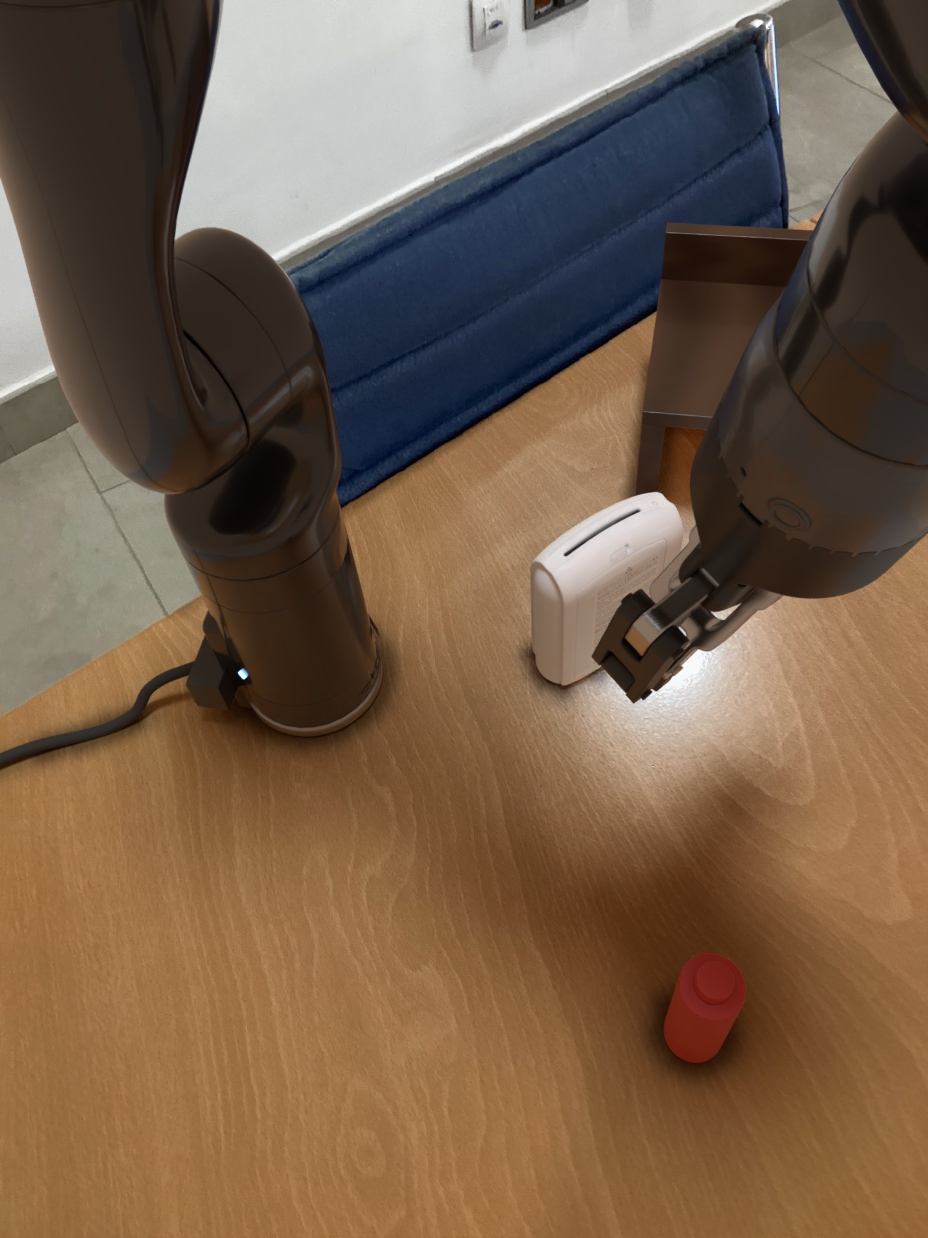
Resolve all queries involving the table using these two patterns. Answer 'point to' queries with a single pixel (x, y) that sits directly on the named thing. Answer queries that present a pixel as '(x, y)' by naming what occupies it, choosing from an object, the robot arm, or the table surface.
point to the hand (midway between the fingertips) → (714, 611)
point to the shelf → (707, 323)
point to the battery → (704, 1007)
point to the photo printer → (596, 579)
